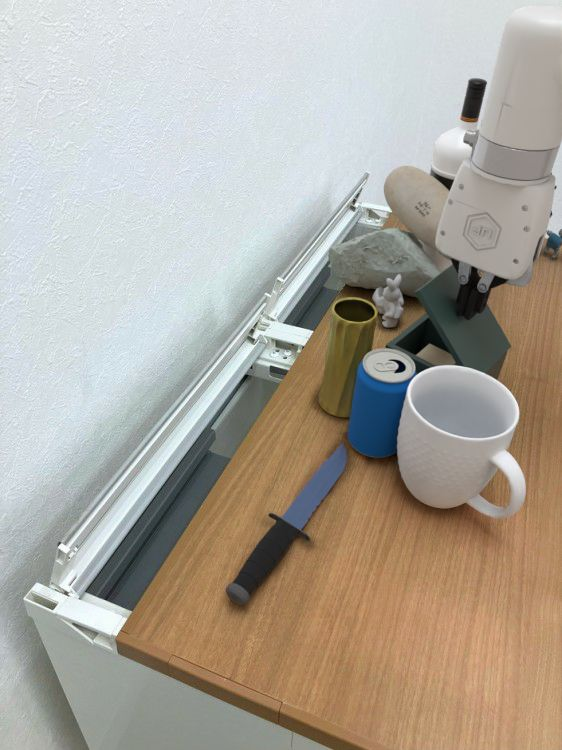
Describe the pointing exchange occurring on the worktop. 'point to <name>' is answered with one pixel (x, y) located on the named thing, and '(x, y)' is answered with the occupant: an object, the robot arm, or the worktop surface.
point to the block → (436, 356)
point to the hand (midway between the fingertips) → (468, 312)
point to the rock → (383, 261)
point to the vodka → (455, 151)
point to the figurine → (389, 301)
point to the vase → (346, 352)
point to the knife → (286, 529)
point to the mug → (458, 439)
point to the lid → (462, 324)
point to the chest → (423, 335)
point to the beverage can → (379, 401)
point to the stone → (416, 201)
